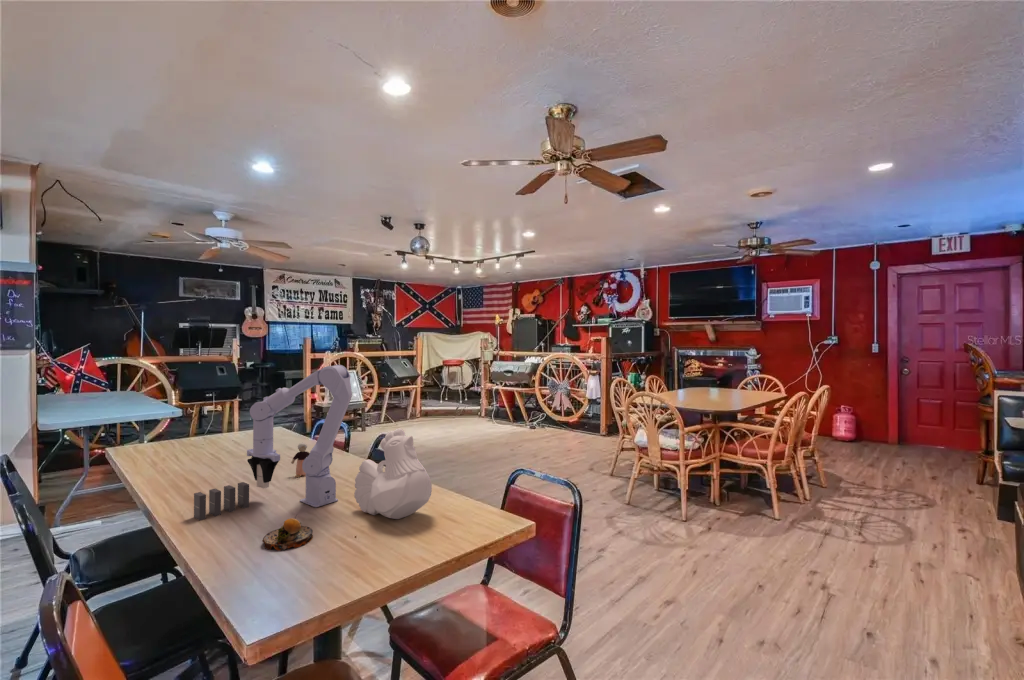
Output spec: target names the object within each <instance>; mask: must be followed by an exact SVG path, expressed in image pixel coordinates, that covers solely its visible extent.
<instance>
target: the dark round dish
mask: <svg viewBox="0 0 1024 680" xmlns="http://www.w3.org/2000/svg"><path fill="white" fill-rule="evenodd" d="M297 515H298V514H296V516H295V518H293V517H292V518H288V519H286V520H285V521H284V522H283V525H282V526H281V527H280V528H277V529H275V530H272V531H270V532H268V533H266V535H264V537H263V538H262V541H261V542H262V543H264V549H266V550H268V551H272V547H273V548H274V549H275V550H276V551H277V552H281V551H282V550H283V551H285V550H286V549H290V548H294V549H297V548H300V547H301V546H302V545H304V546H305V545H307V544H308V543H310V542H311V541H312V540H313V538H314V534H313V531H314V530H313V529H312V527H309V526H303V525H301V524H302V522H300V521H299V520H298V519H297Z"/></svg>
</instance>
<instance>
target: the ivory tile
mask: <svg viewBox="0 0 1024 680" xmlns="http://www.w3.org/2000/svg"><path fill="white" fill-rule="evenodd" d="M256 487H257V488H261V489H268V488H270V482H266V483H264V482H263V474H262V469H261V466H260V464H258V465H257V481H256Z"/></svg>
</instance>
